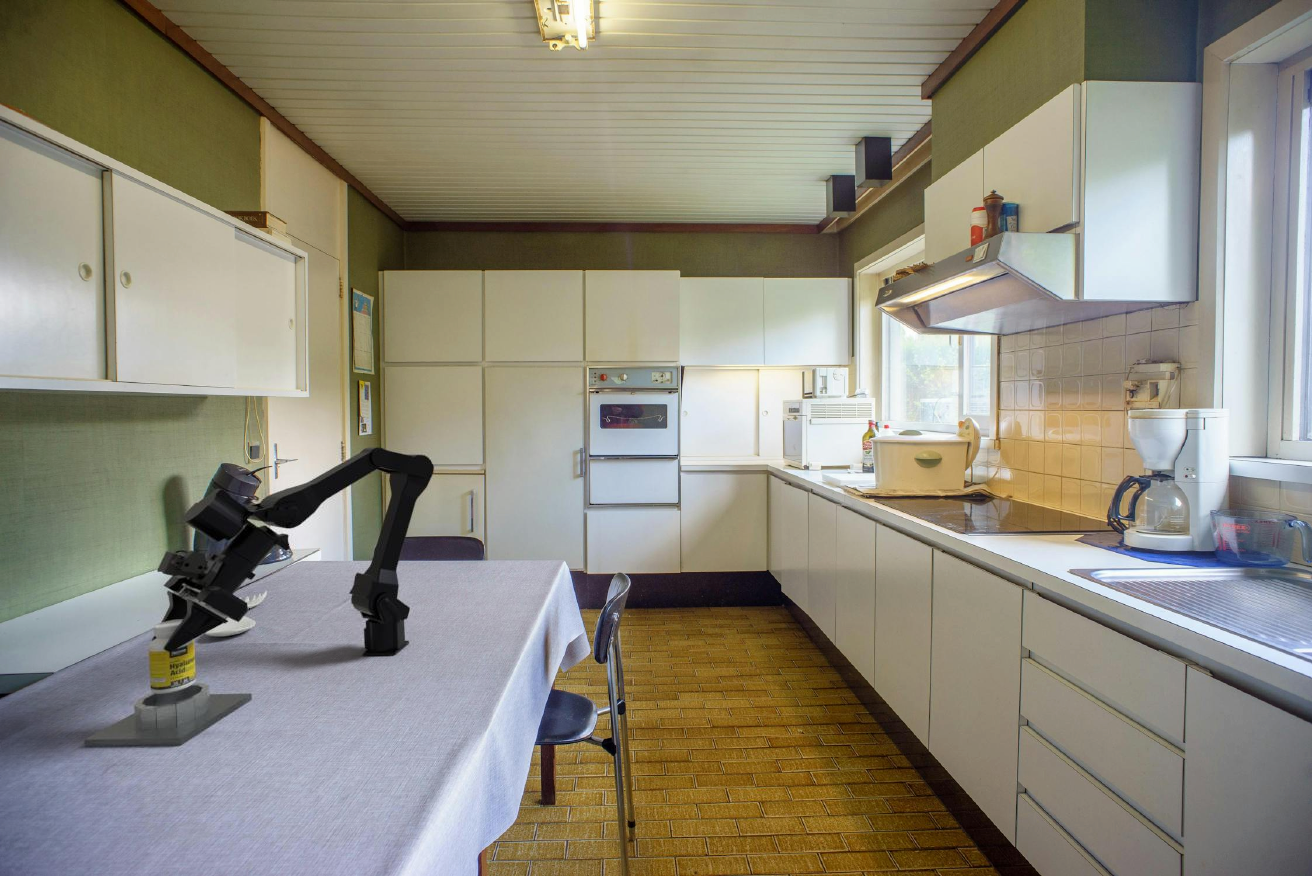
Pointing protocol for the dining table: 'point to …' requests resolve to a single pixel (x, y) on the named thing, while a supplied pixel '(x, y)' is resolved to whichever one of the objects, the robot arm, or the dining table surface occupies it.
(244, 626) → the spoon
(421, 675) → the dining table surface
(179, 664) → the supplement bottle
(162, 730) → the duct collar
